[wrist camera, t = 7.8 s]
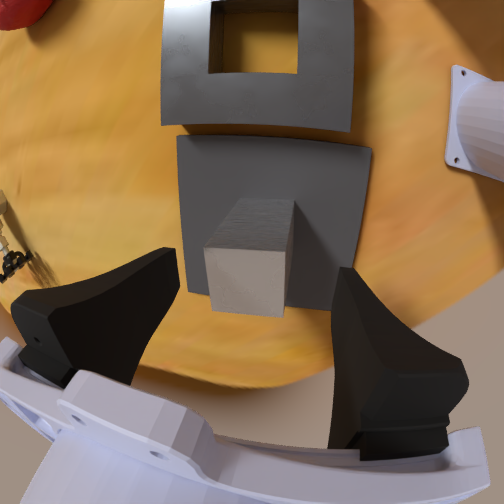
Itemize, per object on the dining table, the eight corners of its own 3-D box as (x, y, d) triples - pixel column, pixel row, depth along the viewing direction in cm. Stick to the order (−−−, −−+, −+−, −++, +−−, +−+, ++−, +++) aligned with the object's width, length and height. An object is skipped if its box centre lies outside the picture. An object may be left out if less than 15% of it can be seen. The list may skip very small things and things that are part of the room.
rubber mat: (370, 147, 18) (371, 148, 17) (340, 307, 25) (340, 311, 24) (179, 135, 20) (176, 135, 19) (190, 288, 27) (188, 291, 26)
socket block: (346, -17, 12) (350, -34, 9) (343, 129, 18) (350, 132, 15) (184, -14, 14) (168, -26, 11) (179, 122, 20) (161, 125, 17)
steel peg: (294, 200, 20) (285, 252, 13) (293, 249, 22) (283, 317, 15) (239, 198, 21) (203, 247, 14) (242, 246, 23) (212, 310, 16)
